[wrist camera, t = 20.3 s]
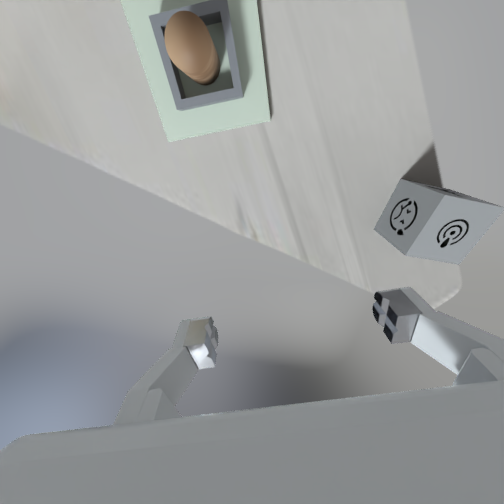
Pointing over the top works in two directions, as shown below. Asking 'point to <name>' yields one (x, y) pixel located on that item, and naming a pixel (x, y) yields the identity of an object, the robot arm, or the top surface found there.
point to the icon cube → (435, 221)
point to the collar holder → (231, 66)
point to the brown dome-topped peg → (192, 47)
